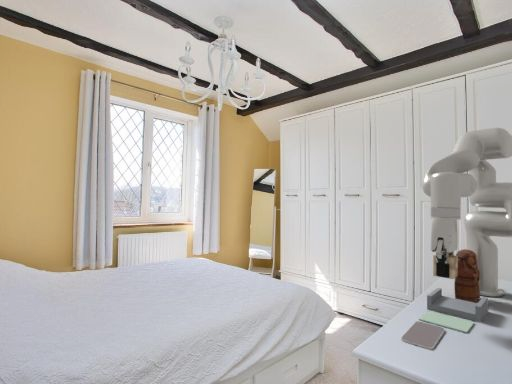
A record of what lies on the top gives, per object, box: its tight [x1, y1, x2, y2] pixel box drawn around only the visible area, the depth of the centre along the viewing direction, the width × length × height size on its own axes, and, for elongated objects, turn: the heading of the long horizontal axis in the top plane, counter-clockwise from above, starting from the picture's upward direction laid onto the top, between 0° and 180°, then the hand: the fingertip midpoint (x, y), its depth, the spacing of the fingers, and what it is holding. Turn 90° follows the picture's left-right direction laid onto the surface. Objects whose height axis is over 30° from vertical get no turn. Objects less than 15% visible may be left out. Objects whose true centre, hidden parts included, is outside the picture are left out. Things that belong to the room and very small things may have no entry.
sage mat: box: [418, 310, 475, 334], centre depth 88 cm, size 9×12×1 cm
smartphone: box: [400, 320, 446, 351], centre depth 79 cm, size 7×1×15 cm
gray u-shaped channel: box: [426, 287, 489, 323], centre depth 97 cm, size 12×14×4 cm
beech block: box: [432, 254, 458, 280], centre depth 88 cm, size 5×5×6 cm
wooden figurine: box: [453, 248, 481, 303], centre depth 107 cm, size 12×6×18 cm, turn 129°
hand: (445, 274), depth 88 cm, fingers closed on beech block, 5 cm apart
